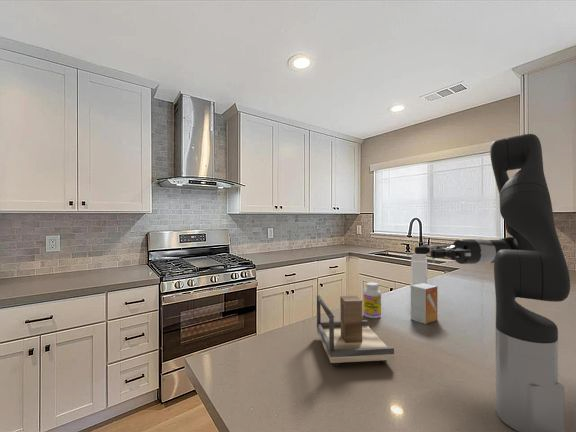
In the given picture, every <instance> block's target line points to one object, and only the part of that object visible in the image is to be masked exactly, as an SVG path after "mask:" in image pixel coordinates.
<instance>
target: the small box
mask: <svg viewBox="0 0 576 432" xmlns="http://www.w3.org/2000/svg"><path fill="white" fill-rule="evenodd" d="M438 287H439V286H437V285H434V284H433V285H432V284H429V283H427V284H425V283H421V284H416V285H413V286H411V285H410V320H412V321H415V322H417V323H419V324H420V323H421V324H424V325H427V324H429V323H430V324H431V323H433V322H435V321H437V320H438Z"/></svg>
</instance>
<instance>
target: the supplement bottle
mask: <svg viewBox="0 0 576 432" xmlns="http://www.w3.org/2000/svg"><path fill="white" fill-rule="evenodd" d="M365 286H366V288H365V289H364V291H363V316H364V317H366V318H369V319H379V318H381V316H382V292H381V290H380V289H379V283H377V282H373V281H372V282H371V281H370V282H369V281H368V282H366V283H365Z"/></svg>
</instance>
